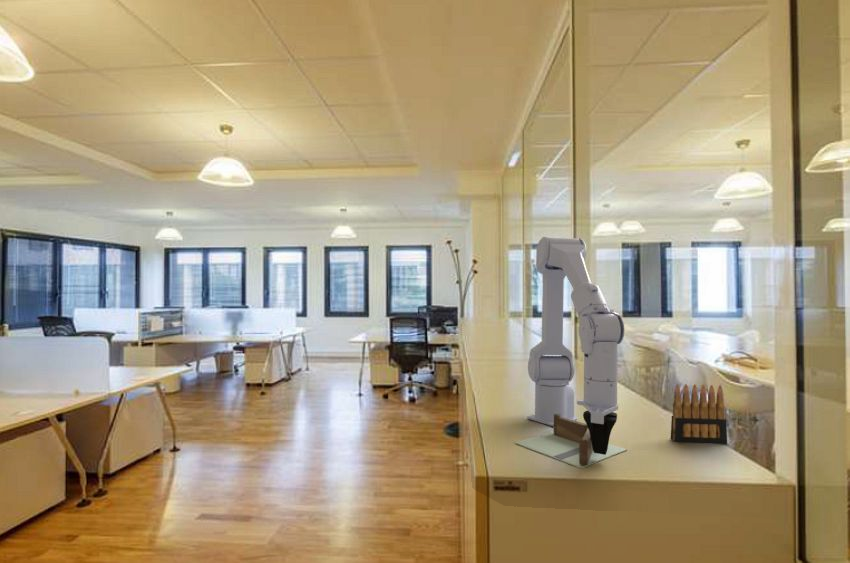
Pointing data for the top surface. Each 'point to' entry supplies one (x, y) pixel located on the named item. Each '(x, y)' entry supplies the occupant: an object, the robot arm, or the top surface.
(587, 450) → the fence gate
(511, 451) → the top surface
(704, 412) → the ammunition clip
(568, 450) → the card
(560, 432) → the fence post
